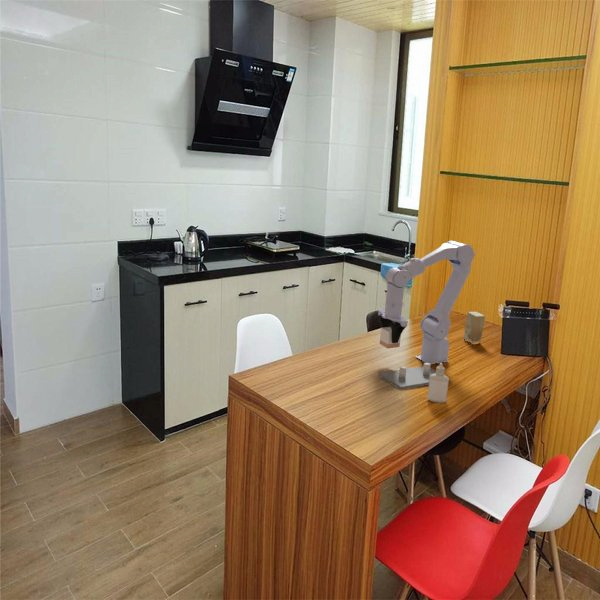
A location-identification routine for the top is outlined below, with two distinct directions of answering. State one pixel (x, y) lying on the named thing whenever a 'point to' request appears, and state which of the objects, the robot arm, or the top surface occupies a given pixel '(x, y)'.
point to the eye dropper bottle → (438, 385)
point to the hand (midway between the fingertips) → (390, 340)
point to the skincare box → (474, 327)
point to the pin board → (409, 376)
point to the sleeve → (388, 338)
